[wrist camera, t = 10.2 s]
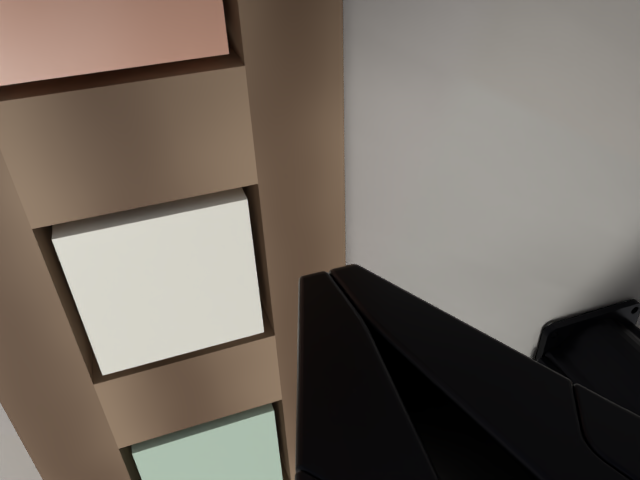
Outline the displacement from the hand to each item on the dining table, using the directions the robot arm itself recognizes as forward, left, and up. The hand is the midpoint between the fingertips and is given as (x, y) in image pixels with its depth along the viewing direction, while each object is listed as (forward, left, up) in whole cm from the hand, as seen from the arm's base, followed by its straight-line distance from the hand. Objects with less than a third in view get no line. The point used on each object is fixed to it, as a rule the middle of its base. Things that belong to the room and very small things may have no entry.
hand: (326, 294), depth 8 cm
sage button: (+2, +16, -12) cm, 21 cm away
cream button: (+2, +6, -12) cm, 14 cm away
